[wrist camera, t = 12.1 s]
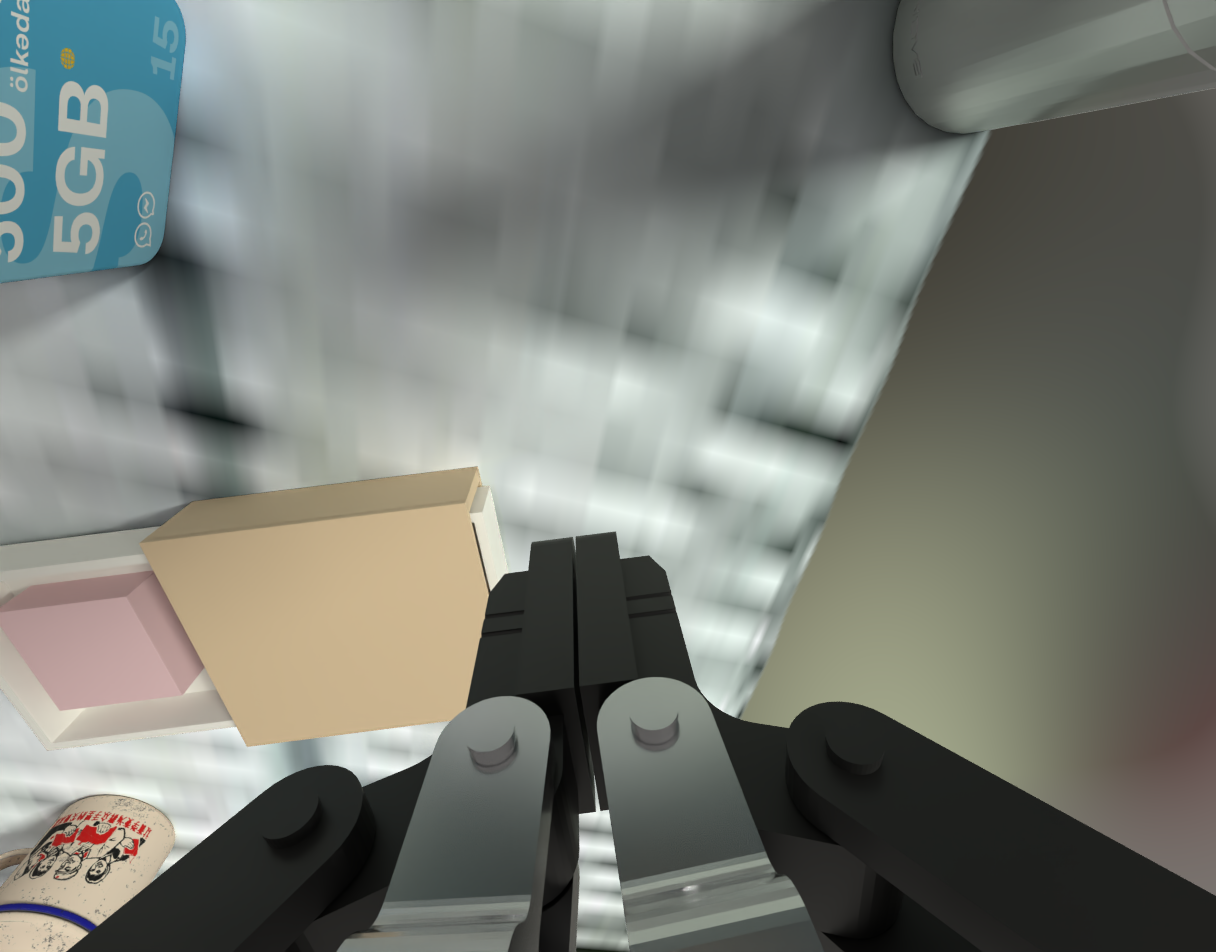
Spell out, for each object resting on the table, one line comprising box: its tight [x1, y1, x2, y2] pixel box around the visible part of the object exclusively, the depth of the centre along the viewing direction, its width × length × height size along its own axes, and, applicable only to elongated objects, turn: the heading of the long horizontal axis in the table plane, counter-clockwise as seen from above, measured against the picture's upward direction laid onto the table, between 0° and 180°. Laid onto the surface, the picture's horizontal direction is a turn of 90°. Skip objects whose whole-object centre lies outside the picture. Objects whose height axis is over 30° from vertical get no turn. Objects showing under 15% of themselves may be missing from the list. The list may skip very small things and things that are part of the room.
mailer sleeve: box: [139, 467, 489, 747], centre depth 37 cm, size 18×16×5 cm
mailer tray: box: [0, 486, 509, 751], centre depth 37 cm, size 32×14×4 cm, turn 96°
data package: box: [0, 0, 186, 283], centre depth 22 cm, size 12×4×12 cm, turn 157°
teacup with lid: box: [0, 795, 175, 952], centre depth 42 cm, size 12×9×12 cm
